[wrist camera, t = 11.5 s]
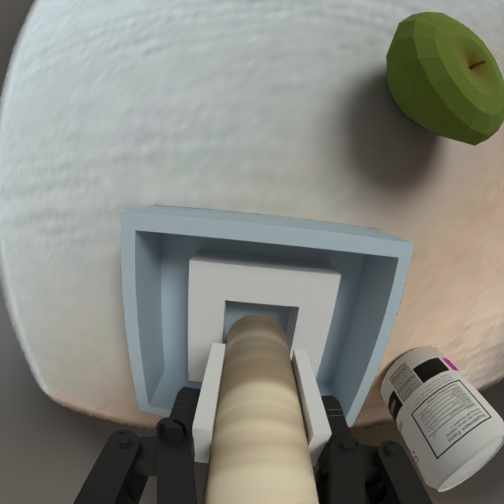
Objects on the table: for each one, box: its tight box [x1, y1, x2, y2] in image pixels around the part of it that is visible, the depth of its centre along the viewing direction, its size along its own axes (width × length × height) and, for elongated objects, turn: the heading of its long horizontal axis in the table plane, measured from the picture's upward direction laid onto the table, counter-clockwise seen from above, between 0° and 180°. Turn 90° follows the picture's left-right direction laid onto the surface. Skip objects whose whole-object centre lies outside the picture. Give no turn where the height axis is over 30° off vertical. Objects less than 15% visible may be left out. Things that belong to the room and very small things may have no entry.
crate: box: [121, 205, 414, 427], centre depth 20 cm, size 16×18×6 cm
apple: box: [386, 12, 504, 146], centre depth 13 cm, size 11×10×10 cm
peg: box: [203, 314, 319, 504], centre depth 11 cm, size 4×4×14 cm
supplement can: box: [380, 346, 504, 492], centre depth 17 cm, size 8×8×15 cm
